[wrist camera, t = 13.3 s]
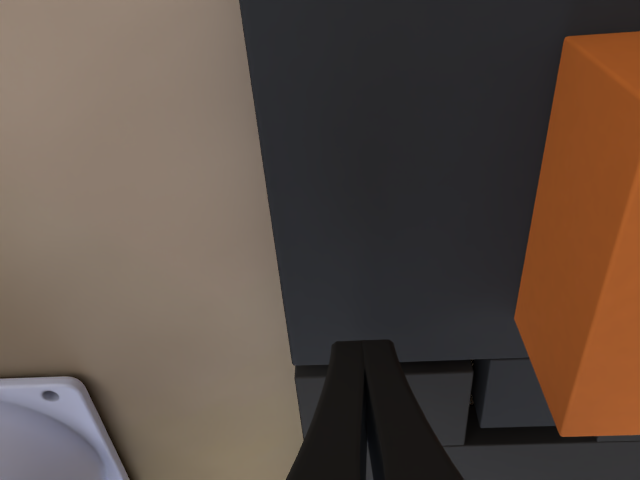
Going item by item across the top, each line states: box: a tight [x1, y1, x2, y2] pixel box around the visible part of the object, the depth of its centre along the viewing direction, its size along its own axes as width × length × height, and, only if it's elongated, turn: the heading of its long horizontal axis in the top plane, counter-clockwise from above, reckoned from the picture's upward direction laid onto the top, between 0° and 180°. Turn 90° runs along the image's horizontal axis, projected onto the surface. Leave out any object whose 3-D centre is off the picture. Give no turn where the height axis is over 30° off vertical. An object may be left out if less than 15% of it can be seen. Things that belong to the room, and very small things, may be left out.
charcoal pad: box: [239, 0, 640, 437], centre depth 12 cm, size 14×13×5 cm
